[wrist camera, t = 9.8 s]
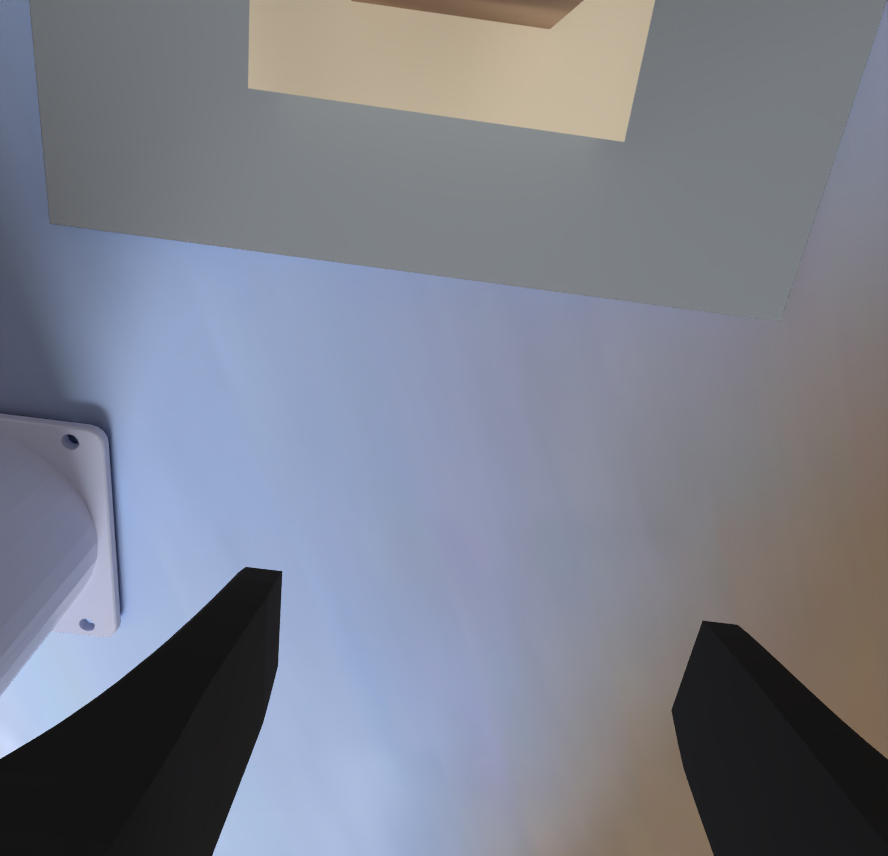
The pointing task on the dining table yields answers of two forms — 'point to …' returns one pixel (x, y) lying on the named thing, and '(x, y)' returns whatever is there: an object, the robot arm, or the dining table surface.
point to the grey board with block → (462, 136)
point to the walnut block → (492, 9)
